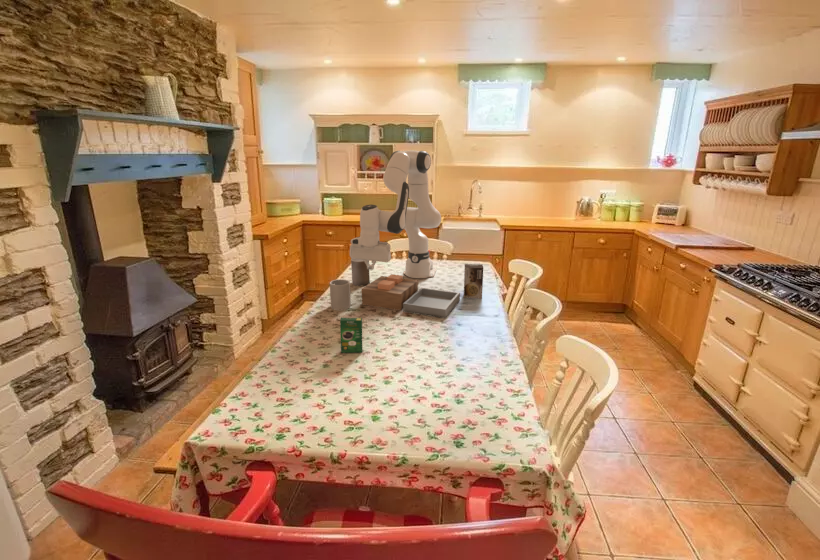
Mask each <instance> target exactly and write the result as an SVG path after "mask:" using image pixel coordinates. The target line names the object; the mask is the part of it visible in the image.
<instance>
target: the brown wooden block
mask: <svg viewBox="0 0 820 560" xmlns="http://www.w3.org/2000/svg"><path fill="white" fill-rule="evenodd" d="M387 277H388V275H387V276H384V275H381V276H379V277H378V278H376V279H374V280H372V282H371V281H370V283H369V284H367V285H364V286H363V287H362V288H361V305H363V306H369V307H376V308H381V307H382V308H381V309H388V308H389V310H394V309H395V311H403V303H404V302H405V301H407V300H408V299H409V298H410V297H411V296H412V295H414V294H415V293H416V292H417V291H418V290H419V280H418V279H412V278H411V279H409V278H403V281H401V282H400V283H399V284H395V286H394V287H393V288H392V289H390V290H385V289H378V283H379V282H381V281H382V280H387Z"/></svg>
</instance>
